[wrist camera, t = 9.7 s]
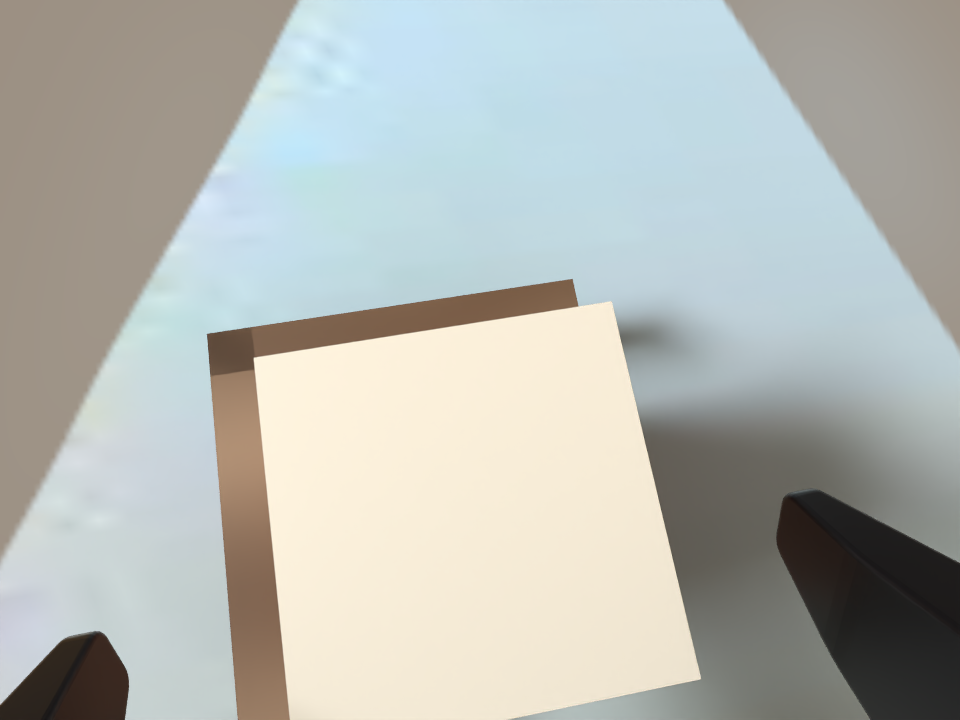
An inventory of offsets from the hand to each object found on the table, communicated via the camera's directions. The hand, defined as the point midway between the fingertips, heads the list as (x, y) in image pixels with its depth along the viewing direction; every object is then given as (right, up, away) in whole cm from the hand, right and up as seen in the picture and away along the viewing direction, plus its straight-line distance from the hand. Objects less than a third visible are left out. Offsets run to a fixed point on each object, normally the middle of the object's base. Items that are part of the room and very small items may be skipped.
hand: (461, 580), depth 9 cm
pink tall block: (0, -1, +9) cm, 10 cm away
